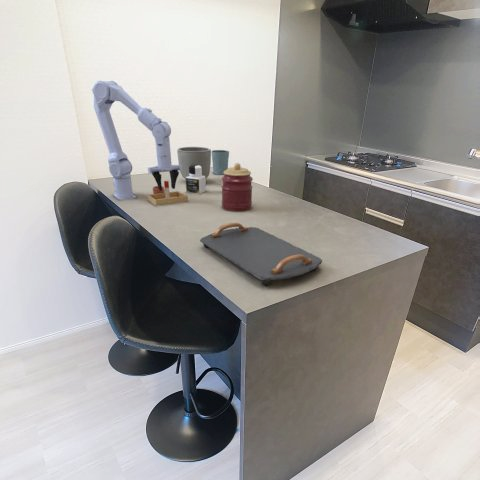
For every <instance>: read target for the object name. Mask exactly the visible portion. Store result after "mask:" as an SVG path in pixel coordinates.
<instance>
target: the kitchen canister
mask: <svg viewBox="0 0 480 480" xmlns="http://www.w3.org/2000/svg"><path fill="white" fill-rule="evenodd" d="M224 174H225V175H222V177H221V180H222V185H221V206H222V208H223V209H224V210H227V211H231V212H232V211H233V212H243V211H248V210H250V209H252V205H253V204H252V203H253V199H252V198H253V186H252V181H253V180H254V179H253V177H252V176H251V174H252V172H251V170H249V169H248V168H246V167H241V164H240V163H239V162H236V163H234V165H233V166H232V167H228V169H227V170H225V171H224Z"/></svg>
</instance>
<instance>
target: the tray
mask: <svg viewBox="0 0 480 480" xmlns="http://www.w3.org/2000/svg"><path fill="white" fill-rule="evenodd" d="M169 195H170V198H167V199H166V194H165V193H160V194H153V193H151V194H147V201H149V202H150V203H152V204H153V205H155V206H162V205H167V204H175V203H181V202H183V203H184V202H188V201H189V199H188V198H189V197H188V195H187V194H184V193H183V192H181V191H179V190H178V191H177V190H176V191H169Z"/></svg>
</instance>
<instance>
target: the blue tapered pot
mask: <svg viewBox="0 0 480 480" xmlns="http://www.w3.org/2000/svg"><path fill="white" fill-rule="evenodd" d="M229 158H230V151H229V150H225V149H213V150H211V163H212V173H213V174H214V175H216V176H224V175H225V174H224V171H225V170H227V169H228V168H229Z"/></svg>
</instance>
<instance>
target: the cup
mask: <svg viewBox="0 0 480 480" xmlns="http://www.w3.org/2000/svg"><path fill="white" fill-rule="evenodd" d="M160 193H165V186H163V185H162V190H161V191H160V190H159V188H158V185H155V186H152V194H160Z"/></svg>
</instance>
